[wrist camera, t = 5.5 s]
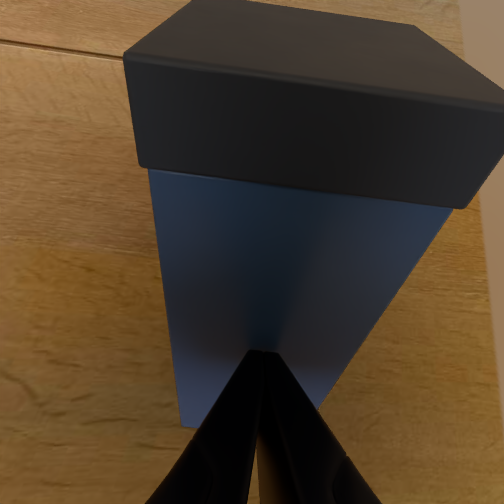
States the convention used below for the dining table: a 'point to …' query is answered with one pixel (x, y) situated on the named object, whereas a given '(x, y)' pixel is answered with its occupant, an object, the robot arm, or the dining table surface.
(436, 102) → the blue capped box
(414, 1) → the dining table surface
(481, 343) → the dining table surface
